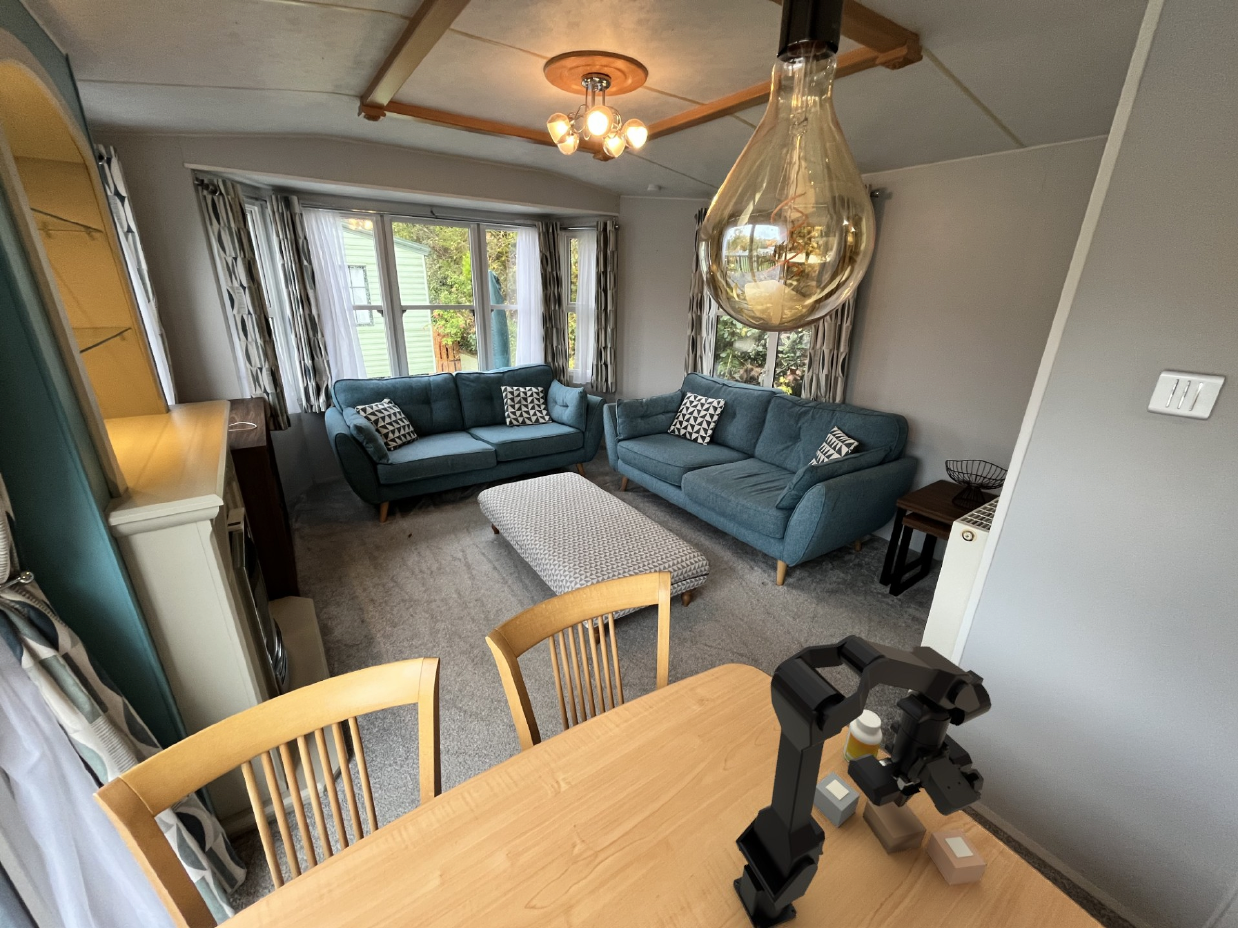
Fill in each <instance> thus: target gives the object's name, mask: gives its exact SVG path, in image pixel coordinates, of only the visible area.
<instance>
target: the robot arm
mask: <svg viewBox="0 0 1238 928" xmlns="http://www.w3.org/2000/svg"><path fill="white" fill-rule="evenodd" d="M842 665H844V666H845V667H846V668H848V669H849V670H850V671H851V672H852V673H853V674H854V675H856V677H858V679H859V683H858V686H857V689H856V691H855V692H854V693H852V694H851V695H849V696H848V697H846V696H845V694H843V692H841V691H840V690H839V689H838V688H837V687H835V685H834V684H833V683H831V682H830V680H829V679H827V678H826V677H825V676H824V675H823V674H822V673H821V672H819V670H817V669H824V668H834V667H835V668H836V667H840V666H842ZM983 682H984V678H983V677H982V676H980V675H979V674H978V673H976V672H975V671H974V670H972V669H970V670H967V671H966V670H964V669H963V668H961V667H960V666H958V665H957V664H956V663H953V661H951V660H950V659H948V658H946V657H945V656H944V655H942V654H941V653H939V652H938V651H937V650H935V649H933V647H931V646H928V645H926V646H921V645H920V646H913V647H912V649H911V650H910V651H906V650H904V649H900V648H896V647H893V646H888V645H885V644H882V643H878V642H874V641H870V640H867V639H865V638H863V637H862V636H857V635H855V634H850V635H847V636H846V637H844V638H842V639H840V640H839V641H838V642H836V643H828V644H821V645H820V644H819V645H818V644H817V645H809V646H806V647H804V648H802V649H801V650H799V651H798V652H796V653H794V654H793V655H791V656H790V657H788V658H787V659H785V660H783V661H782V662H781V663H779V664H778V666H777V667H776V668H775V670H774V672H773V674H772V677H771V680H770V698H771V705H772V707H773V710H774V713H775V715H776V718H777V721H778V723H779V726H780V735H779V742H778V743H779V744H778V749H777V750H778V751H777V758H776V765H775V773H774V781H773V787H772V794H771V802H770V804H769V805H767V806H765V807H763V808H761V809H759V810H758V812H757V815H756V817H755V818H754V819H753V820H752V821H751V822H750V823H749V824H748V826H747V827H746V828H745V829H744V830H743V831H742V833H741V834H740V835H739V836H738V837H737V839H736V840H735V844H736V847H737V849H738V851H739V852H740V853H741V855H742V857H743V858H744V860H745V861H746V862H747V864H744V865H743V870H742V876H740V877H738V878H735V879H734V880H733V882H732V883H733V884H732V885H733V888H734V890H735V892H736V894H737V896H738V898H739V900H740V902H741V904H742V906H743V908H744V910H745V912H746V915H747V916H748V918H749V920H750V922H751V925H752V926H753V928H758V927H759V928H775V927H777V926H779V925H781V924H784V923H785V922H788V921H791V920H793V919H795V918H796V917H797V910H796V908H795V906H794V905H793V902H795V901H797V900H798V899H800V898H802V897H803V896H805V894H806V892H807V890H808V889H809V887H810V884H811V883H812V881H813V880H814V877H815V876H816V874H817V872H818V870H819V866H818V864H819V861H820V856H822V855H824V851H823V847H824V844H825V842H826V832H825V830H824V829H823V828H822V826H821V825H820V824H819V823H818V822H817V820H816V819H815V818H814V817H813V814H812V812H813V808H814V807H813V806H814V805H813V802H814V797H815V791H816V785H817V784H818V780H819V779H818V778H819V773H820V768H821V762H822V757H823V751H824V745H825V743H826V742H825V741H827V740H829V739H831V738H833V737H836V736H837V735H839V734H841V733H842V730H843V729H844V728H845V727H846V726H848V725H850V723H851V722H852V721H854V720H855V719H856V718H858V717H859V716H861V715H862V713H863V711H864V710H865V708H866V703H867V700H868V696H869V693H870V691H871V690H872V689H874V688H875V687H877V686H878V685H884V686H890V687H895V688H901V689H906V690H909V691H908V692H907V693H906V695H905V696H904V697H902V698H900V699H899V700H898V701H897V702H896V706H897V707H898V708H899V709H901V713H900V718H899V720H897V721H894V722H891V724H890V730H891V731H892V732H893V733H894V734H895V735H894V738H893V740H892V741H889V742H886V743H885V744H884V749H885V751H886V752H887V753H888V754H889V755H890V757H889V756H887V757H884V758H881V759H878V758H876V757H875V756H874V755H872V754H866V755H863V756H860V757H857V758H854V759H851V760H850V761H849V762H848V765H847V769H846V771H847V775H848V777H850V778H851V780H852V781H853V782H854V783H855V784H856V785H857V787H858V788H859V789H860V790H861V791H862V793H863V794H864V795H865V797H866V798H867V800H870V801H871V802H872V804H874V805H876V806H879V807H880V806H882V805H885V804H888V803H890V802H894V803H895V804H896V805H897V806H898V807H902V806H904V805H905V804H906V803H907V802H908V801H910V800H911V799H912V798H913V797H914V796H915V795H916V794H920V793H921V792H922V790H921V789H924V791H925V792H926V794H927V796H928V797H929V798H930V800H931V802H932V803H933V804H934V807H935V809H936V811H937V812H938V813H939V814H940V815H942V816H944V817H946V816H950V815H952V814H954V813H956V812H959V811H963V810H964V809H965V808H968V807H969V806H971V805H972V804H974V803H976V802H977V801H980V800H981V798H982V797H981V796H982V793H981V791H982V790H983V786H984V781H985V780H984V779H985V778H984V777H983V776H982V774H981V773H980V772H979V771H978V769H977V768H972V766H973V763H974V762H973V760H972V758H971V755H970V753H969V752H968V751H967V750H966V749H965V748H963V746H962V745H960V744H959V743H958V742H957V741H956V740H955V739H954V738H952V737H951V736H950V735H949V734H948V733H947V731H948V728H949V726H950V724H951V725H953V726H956V727H959V726H962V725H963V724H965V723H968V722H969V721H972V720H973V719H976V718H977V717H980V716H982V715H984V714H986V713H988V712H990V710H991V708H992V704H993V703H992V702H991V701H992V700H991V697H990V694H989V692H988V691H987V689H986V687H985V686H984V685H983Z"/></svg>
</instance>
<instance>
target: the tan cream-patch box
mask: <svg viewBox="0 0 1238 928" xmlns="http://www.w3.org/2000/svg"><path fill="white" fill-rule="evenodd" d="M925 850H926V851H925V852H927V854H928V856H929V857H930V858H931V860H932V861H933V863H934V865H935V867H936V868H937V870H938V871H939V872H940V874H941V875H942V877H943V879H944V880H945V881H946V883H947V885H948V886H955V885H961V884H962V885H964V884H971V883H977V882H981V879H982V877H983V875H984V872H985V869H986V867H987V866H988V863H987V861H986V860H985V859H984V858H983V856H982V855H981V853H980V852H979V851H978V849H977V848H976V847H975V845H974V844H973V842H972V841H971V839H969V837H968V836H967V834H966V833H965V831H963V829H962V828H958V829H948V830H940V831H932V832H930V835H929V839H928V841H927V845H926V846H925Z"/></svg>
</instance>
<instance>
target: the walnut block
mask: <svg viewBox="0 0 1238 928" xmlns="http://www.w3.org/2000/svg"><path fill="white" fill-rule="evenodd" d="M861 817H862V819H863V820H864V821H865V823H866V824H867V826H868V828H869V829H870V831H872V833H873V835H874V836H875V838H876V839H877V840H878V842H879V844H880V845H881V847H882V849H883V850H884V851H885V853H886V854H887V855H893V854H897V853H900V852H904V851H908V850H913V849H917V848H920V847H921V846H922V845H923V841H924V839H925V836H926V833H927V830H928V829H927V827H926V826H925V825H924V824H923V823H922V821H921V820H920V819H919V818H918V816H917V815H916V814H915V813H914V811H913V810H912V808H911V807H910V806H909V805H908V804H907V802H906V804H905V805H904V806H902V807H898V806H897V805H896V804H895V803H894V802H890V803H888V804H885V805H882V806H880V807H879V806H876V805H874V804H872V802H871V801H870V800H869V799H867V800H866V802H865V806H864V809H863V813H862V816H861Z"/></svg>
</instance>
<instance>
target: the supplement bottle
mask: <svg viewBox="0 0 1238 928" xmlns="http://www.w3.org/2000/svg"><path fill="white" fill-rule="evenodd" d="M848 725H849V726H848V730H847V733H846V734H847V735H846V737H845V741H844V746H843V756H844V758H845V760H846V761H847V763H849V761H850V760H851V759H854V758H857V757H860V756H863V755H866V754H872V755H874V756H875V757H876V759H878V754H879V751H878V750H880V747H881V743H882V740H883V732H882V730H881V727H882V720H881V718H880V716H878V714H877V713H875V712H874V711H871V710H868V709H864V711H863V713H862V715H861V716H859V717H858V718H856V719H855V720H854V721H852V722H851V723H849V724H848Z"/></svg>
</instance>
